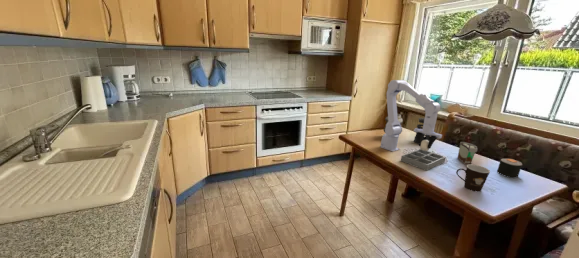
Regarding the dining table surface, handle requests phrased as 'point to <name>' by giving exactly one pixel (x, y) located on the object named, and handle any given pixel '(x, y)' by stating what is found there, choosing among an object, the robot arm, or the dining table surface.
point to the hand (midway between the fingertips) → (424, 146)
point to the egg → (424, 145)
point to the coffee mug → (475, 177)
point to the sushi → (509, 167)
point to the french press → (421, 128)
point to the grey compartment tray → (423, 159)
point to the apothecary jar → (398, 120)
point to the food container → (466, 152)
